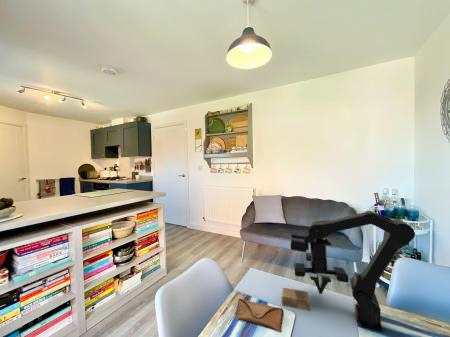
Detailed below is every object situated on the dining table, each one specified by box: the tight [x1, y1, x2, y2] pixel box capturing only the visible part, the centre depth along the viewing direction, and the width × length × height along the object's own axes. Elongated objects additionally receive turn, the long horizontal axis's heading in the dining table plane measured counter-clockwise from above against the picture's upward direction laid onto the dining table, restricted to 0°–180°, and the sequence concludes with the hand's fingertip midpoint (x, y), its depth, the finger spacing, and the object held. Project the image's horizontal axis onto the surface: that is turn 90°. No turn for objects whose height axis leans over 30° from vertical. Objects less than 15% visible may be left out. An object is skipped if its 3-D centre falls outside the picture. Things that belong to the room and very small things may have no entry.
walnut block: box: [281, 287, 310, 312], centre depth 79 cm, size 4×6×10 cm
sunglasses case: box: [235, 298, 285, 333], centre depth 72 cm, size 18×7×7 cm
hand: (320, 293), depth 76 cm, fingers closed
